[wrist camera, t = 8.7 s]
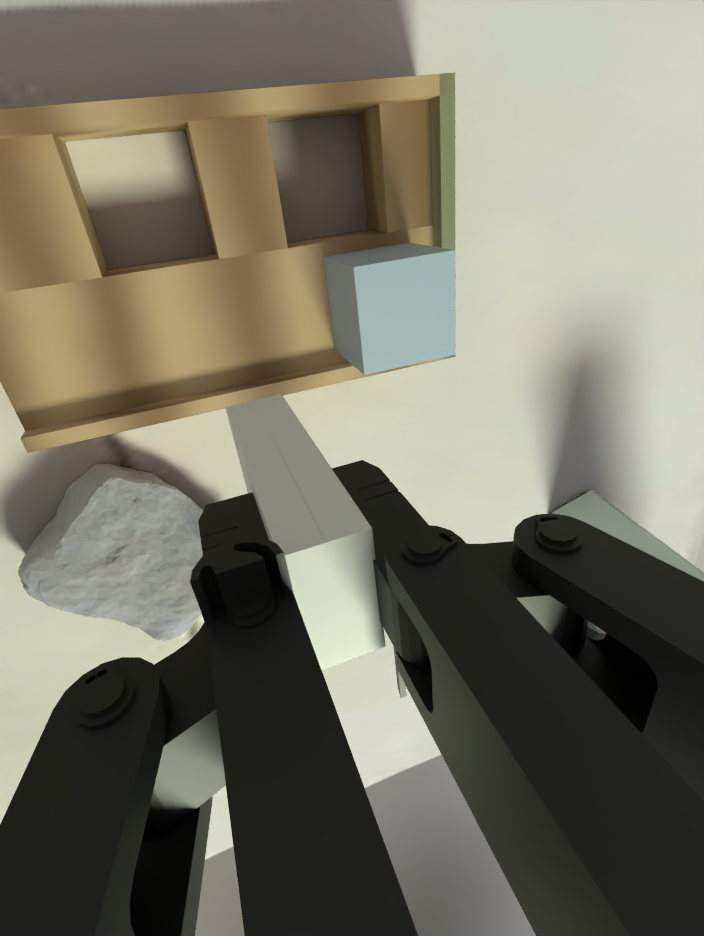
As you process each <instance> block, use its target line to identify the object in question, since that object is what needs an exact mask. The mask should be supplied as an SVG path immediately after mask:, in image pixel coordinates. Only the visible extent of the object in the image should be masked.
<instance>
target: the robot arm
mask: <svg viewBox="0 0 704 936" xmlns="http://www.w3.org/2000/svg"><path fill="white" fill-rule="evenodd" d="M226 411H227V415H228V419H229V423H230V426H231V430H232V434H233V438H234V441H235V445H236V449H237V453H238V457H239V460H240V464H241V468H242V472H243V476H244V479H245V483H246V487H247V491H248V494H245V495H241V496H237V497H234V498H230V499H227V500H223V501H219V502H216V503H212V504H209V505H206V507H205V509H204V511H203V513H202V515H201V517H200V518H199V520H198V524H199V531H200V538H201V546H202V551H203V557H201V559H200V560H199V561H198V563H197V564H196V565H195V567H194V568H193V569H192V574H191V579H190V584H191V587H192V589H193V592H194V594H195V597H196V600H197V602H198V605H199V608H200V610H201V613H202V616H203V618H204V621H205V622H204V624H203V625H202V627H201V629H200V630H199V632H198V633H197V634H196V635H195V636H194V637H193V638H192V639H191V640H190V641H189V642H188V643H187V644H185V645H184V646H183V647H181V648H180V649H178V650H177V651H176V652H174V653H172V654H171V655H169V656H168V657H166V658H164V659H163V660H161V661H160V662H158V663H156V664H155V665H153V664H152V663H150V662H148V661H146V660H144V659H142V658H119V659H116V660H112V661H109V662H106V663H103V664H101V665H99V666H97V667H96V668H94V669H92V670H91V671H89V672H87V673H86V674H84V675H82V676H81V677H80V678H79V679H78V680H77V681H76V682H75V683H74V684H73V685H72V686H70V687H69V688H68V689H67V690H66V691H65V692H64V694H63V696H62V697H61V699H60V700H59V702H58V703H57V705H56V706H55V708H54V709H53V711H52V713H51V716H50V718H49V720H48V722H47V724H46V726H45V729H44V731H43V733H42V735H41V737H40V740H39V742H38V744H37V746H36V748H35V750H34V753H33V755H32V757H31V759H30V761H29V763H28V766H27V768H26V770H25V772H24V774H23V776H22V779H21V781H20V783H19V785H18V787H17V790H16V792H15V794H14V796H13V798H12V800H11V803H10V805H9V807H8V809H7V811H6V813H5V816H4V818H3V820H2V822H1V824H0V936H195V929H196V921H197V914H198V906H199V899H200V891H201V883H202V876H203V868H204V860H205V853H206V845H207V837H208V830H209V822H210V814H211V807H212V796H213V795H214V794H215V793H217V792H218V791H219V790H220V789H221V788H223V787H224V786H225V785H226V789H227V797H228V805H229V813H230V821H231V829H232V837H233V845H234V853H235V861H236V868H237V877H238V885H239V893H240V900H241V909H242V917H243V925H244V933H245V936H418V935H417V932H416V929H415V926H414V923H413V921H412V918H411V915H410V912H409V910H408V907H407V904H406V902H405V899H404V896H403V893H402V890H401V888H400V885H399V882H398V879H397V877H396V874H395V871H394V868H393V866H392V863H391V860H390V858H389V855H388V852H387V849H386V847H385V844H384V841H383V838H382V835H381V833H380V830H379V827H378V824H377V822H376V819H375V817H374V813H373V811H372V808H371V805H370V802H369V800H368V797H367V794H366V791H365V789H364V786H363V783H362V780H361V778H360V775H359V772H358V769H357V767H356V764H355V761H354V758H353V756H352V753H351V750H350V747H349V745H348V742H347V739H346V736H345V734H344V731H343V728H342V725H341V723H340V720H339V717H338V714H337V712H336V709H335V706H334V703H333V701H332V698H331V695H330V692H329V689H328V687H327V684H326V681H325V678H324V676H323V673H322V670H324V669H327V668H329V667H332V666H335V665H337V664H340V663H342V662H345V661H348V660H350V659H353V658H356V657H358V656H361V655H363V654H366V653H369V652H371V651H374V650H377V649H379V648H382V647H385V638H384V629H385V631H386V633H387V635H388V636H389V638H390V640H391V642H392V644H393V646H394V654H395V664H396V674H397V684H398V689H399V693H400V697H401V698H403V697H405V696H406V687H407V689H408V691H409V693H410V694H411V696H412V698H413V700H414V702H415V704H416V706H417V708H418V710H419V712H420V714H421V716H422V718H423V719H424V721H425V723H426V725H427V727H428V729H429V731H430V733H431V735H432V737H433V739H434V741H435V742H436V744H437V746H438V748H439V750H440V752H441V754H442V756H443V757H444V760H445V761H446V764H447V765H448V767H449V769H450V771H451V773H452V775H453V777H454V779H455V781H456V783H457V785H458V787H459V788H460V790H461V792H462V794H463V796H464V798H465V800H466V802H467V804H468V806H469V807H470V810H471V811H472V813H473V815H474V817H475V819H476V821H477V823H478V825H479V827H480V829H481V831H482V833H483V834H484V836H485V838H486V840H487V842H488V844H489V846H490V848H491V850H492V852H493V854H494V856H495V858H496V859H497V861H498V863H499V865H500V867H501V869H502V871H503V873H504V875H505V877H506V879H507V881H508V882H509V884H510V886H511V888H512V890H513V892H514V894H515V896H516V898H517V900H518V902H519V904H520V906H521V907H522V909H523V911H524V913H525V915H526V917H527V919H528V921H529V923H530V925H531V927H532V928H533V930H534V932H535V934H536V936H704V581H702V580H700V579H698V578H696V577H694V576H692V575H690V574H688V573H686V572H684V571H682V570H680V569H678V568H676V567H674V566H672V565H670V564H668V563H666V562H664V561H662V560H660V559H658V558H656V557H654V556H652V555H650V554H648V553H646V552H644V551H642V550H640V549H638V548H636V547H634V546H632V545H630V544H628V543H626V542H624V541H622V540H620V539H618V538H616V537H614V536H612V535H610V534H608V533H606V532H604V531H602V530H600V529H598V528H596V527H594V526H592V525H590V524H588V523H586V522H584V521H581V520H578V519H576V518H573V517H570V516H566V515H559V514H541V515H534V516H532V517H529V518H526V519H524V520H523V521H522V522H521V523H520V524H518V525H517V526H516V529H515V533H514V541H512V542H500V543H488V544H466V543H465V542H464V541H463V540H462V538H460V537H459V536H458V535H456V534H455V533H453V532H452V531H451V530H448V529H445V528H441V527H438V526H429V525H428V524H427V523H426V521H425V520H424V519H423V518H422V517H421V516H420V514H419V513H418V512H417V511H416V510H415V509H414V508H413V506H412V505H411V504H410V503H409V502H408V501H407V499H406V498H405V497H404V496H403V495H402V494H401V492H398V489H397V488H396V487H395V486H394V484H393V483H392V482H390V480H389V479H388V477H387V476H386V475H385V474H384V473H383V472H382V470H381V469H380V468H378V467H376V466H374V465H372V464H369V463H367V462H365V461H363V460H361V461H358V462H354V463H350V464H347V465H343V466H339V467H336V468H331V467H330V465H329V464H328V463H327V461H326V460H325V458H324V457H323V455H322V454H321V452H320V451H319V449H318V448H317V446H316V445H315V443H314V442H313V440H312V439H311V437H310V436H309V434H308V433H307V432H306V430H305V429H304V427H303V426H302V424H301V423H300V421H299V420H298V418H297V417H296V415H295V414H294V412H293V411H292V409H291V408H290V406H289V405H288V403H287V402H286V401H285V399H284V398H283V396H282V395H281V394H280V395H276V396H271V397H267V398H263V399H258V400H254V401H250V402H245V403H241V404H237V405H233V406H228V407H226ZM589 622H590V623H592V624H594V625H595V626H597V627H598V628H600V629H601V630H603V631H604V632H606V634H603V633H598V632H597V631H595V630H593V629H591V628H590V627H588V626H589ZM383 627H384V629H383Z"/></svg>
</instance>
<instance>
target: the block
mask: <svg viewBox="0 0 704 936" xmlns="http://www.w3.org/2000/svg"><path fill="white" fill-rule="evenodd" d="M323 260H324V267H325V275H326V283H327V291H328V298H329V306H330V314H331V321H332V329H333V337H334V345H335V350H336V351H337V352H338V353H339V354H341V355H342V356H343V357H344V358H345V359H346V360H348V361H349V362H350V363H351V364H352V365H353V366H354V367H356V368H357V369H358V370H359V371H360V372H361V373H363V374H364V375H368V374H372V373H377V372H381V371H385V370H390V369H394V368H399V367H403V366H408V365H412V364H417V363H421V362H426V361H430V360H435V359H439V358H443V357H448V356H452V355H455V250H452V249H446V248H440V247H434V246H427V245H421V244H415V243H405V244H399V245H393V246H387V247H381V248H374V249H368V250H362V251H356V252H350V253H344V254H338V255H332V256H325V257H323Z"/></svg>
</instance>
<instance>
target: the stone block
mask: <svg viewBox="0 0 704 936" xmlns="http://www.w3.org/2000/svg"><path fill="white" fill-rule="evenodd" d="M203 511H204V510H203V509H201V508H200V507H199V506H198V505H197V504H196V503H195V502H194V501H193V500H192V499H191V498H189V497H188V496H186V495H185V494H183V493H182V492H181V491H180V490H178V489H177V488H176V487H174V486H171V485H169V484H167V483H164V481H163V480H162V479H160V478H158V477H157V476H156V475H154V474H153V473H151V472H145V471H139V470H135V469H131V468H127V467H121V466H117V465H113V464H110V463H103V464H101V463H98V464H95V465H93V466H92V467H91V468H89V469H88V470H87V471H86V473H84V474H83V475H82V476H81V477H80V478H78V479H77V480H75V481H74V482H73V483H72V484H71V485H70V486H69V487H68V488H67V489H66V493H65V494H64V497H63V499H62V501H61V503H60V504H59V505H58V508H57V513H56V515H55V516H54V517H53V519H52V520H51V521H50V522H49V523H48V524H47V525H46V527H44V528H43V530H42V531H41V533H40V534H39V535H38V536H37V537H36V539H35V540H34V541H33V543H32V544H31V545H30V547H29V549H28V551H27V553H26V555H25V557H24V558H23V560H22V564H21V565H20V567H19V571H18V573H19V576H20V578H21V582H22V584H23V588H24V589H25V590H26V591H27V593H28V594H29V596H31V597H33V598H35V599H37V600H39V601H42V602H43V603H45V604H46V605H48V606H50V607H53V608H57V609H60V610H62V611H67V612H72V613H74V614H77V615H83V616H87V617H94V618H108V619H113V620H118V621H121V622H124V623H126V624H128V625H130V626H132V627H138V628H140V629H141V630H143V631H144V632H146V633H147V634H148V635H150V636H151V637H152V638H154V639H157V640H161V641H167V640H171V639H174V638H177V637H179V636H180V635H182V634H183V633H184V632H186V631H187V630H189V629H190V628H191V627H192V626H193V624H194V623H195V622H196V621H197V620H198V618H199V616H200V615H201V614H202V613H201V610H200V608H199V605H198V602H197V600H196V597H195V594H194V592H193V589H192V587H191V584H190V579H191V574H192V569H193V568H194V567H195V565H196V564H197V563H198V561H199V560H200V559H201V557H203V551H202V546H201V538H200V531H199V524H198V520H199V518H200V517H201V515H202V513H203Z"/></svg>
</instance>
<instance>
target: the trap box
mask: <svg viewBox="0 0 704 936" xmlns="http://www.w3.org/2000/svg"><path fill="white" fill-rule="evenodd" d="M348 114H359V126H360V138H361V150H362V162H363V174H364V185H365V197H366V209H367V221H368V230H366V231H359V232H353V233H346V234H340V235H333V236H327V237H320V238H314V239H307V240H301V241H294V242H288V243H287V239H286V233H285V226H284V220H283V214H282V208H281V202H280V196H279V190H278V183H277V177H276V171H275V165H274V159H273V153H272V147H271V140H270V134H269V128H268V122H275V121H285V120H296V119H306V118H317V117H327V116H337V115H348ZM182 130H186V135H187V139H188V143H189V147H190V152H191V156H192V160H193V164H194V169H195V173H196V177H197V181H198V186H199V190H200V194H201V199H202V203H203V207H204V211H205V216H206V220H207V224H208V228H209V233H210V237H211V241H212V245H213V250H214V254H210V255H203V256H197V257H190V258H184V259H177V260H171V261H164V262H158V263H151V264H145V265H138V266H132V267H125V268H119V269H112V270H108V267H107V264H106V261H105V258H104V255H103V252H102V249H101V247H100V244H99V241H98V238H97V235H96V232H95V229H94V226H93V223H92V220H91V217H90V214H89V212H88V209H87V206H86V203H85V200H84V197H83V194H82V191H81V188H80V185H79V182H78V179H77V177H76V174H75V171H74V168H73V165H72V162H71V159H70V156H69V153H68V150H67V147H66V144H65V142H67V141H78V140H88V139H98V138H109V137H119V136H130V135H140V134H150V133H161V132H171V131H182ZM405 243H415V244H421V245H427V246H434V247H440V248H446V249H452V250H455V73H444V74H432V75H419V76H407V77H394V78H382V79H369V80H357V81H344V82H332V83H319V84H307V85H294V86H282V87H269V88H257V89H244V90H232V91H220V92H207V93H195V94H182V95H170V96H157V97H145V98H132V99H120V100H107V101H95V102H82V103H70V104H57V105H45V106H32V107H20V108H7V109H0V382H1V384H2V386H3V388H4V390H5V392H6V394H7V396H8V398H9V400H10V401H11V403H12V405H13V407H14V409H15V411H16V413H17V415H18V417H19V419H20V421H21V423H22V425H23V427H24V429H25V432H24V434H23V435H22V437H21V441H22V443H23V445H24V447H25V449H26V451H27V453H30V452H34V451H38V450H43V449H47V448H52V447H56V446H61V445H65V444H70V443H74V442H78V441H83V440H87V439H92V438H96V437H101V436H105V435H109V434H114V433H118V432H123V431H127V430H132V429H136V428H141V427H145V426H149V425H154V424H158V423H163V422H167V421H172V420H176V419H180V418H185V417H189V416H194V415H198V414H203V413H207V412H212V411H216V410H220V409H225V408H226V407H228V406H233V405H237V404H241V403H245V402H250V401H254V400H258V399H263V398H267V397H271V396H276V395H280V394H281V395H282V396H283V395H287V394H291V393H296V392H300V391H305V390H309V389H314V388H318V387H322V386H327V385H331V384H336V383H340V382H345V381H349V380H354V379H358V378H362V377H367V376H371V375H376V374H380V373H385V372H389V371H394V370H398V369H402V368H407V367H411V366H416V365H420V364H425V363H429V362H433V361H438V360H442V359H447V358H451V357H455V355H452V356H448V357H443V358H439V359H435V360H430V361H426V362H421V363H417V364H412V365H408V366H403V367H399V368H394V369H390V370H385V371H381V372H377V373H372V374H368V375H364V374H363V373H361V372H360V371H359V370H358V369H357V368H356V367H354V366H353V365H352V364H351V363H350V362H349V361H348V360H346V359H345V358H344V357H343V356H342V355H341V354H339V353H338V352H337V351H336V350H335V345H334V337H333V329H332V321H331V314H330V306H329V298H328V291H327V283H326V275H325V267H324V260H323V257H325V256H332V255H338V254H344V253H350V252H356V251H362V250H368V249H374V248H381V247H387V246H393V245H399V244H405Z"/></svg>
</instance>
